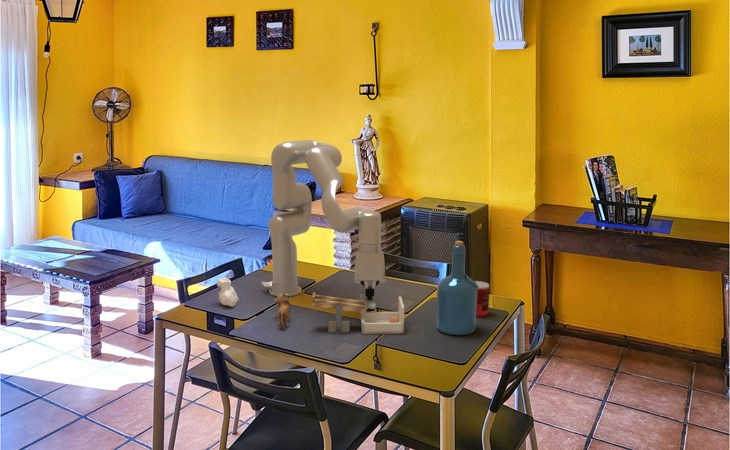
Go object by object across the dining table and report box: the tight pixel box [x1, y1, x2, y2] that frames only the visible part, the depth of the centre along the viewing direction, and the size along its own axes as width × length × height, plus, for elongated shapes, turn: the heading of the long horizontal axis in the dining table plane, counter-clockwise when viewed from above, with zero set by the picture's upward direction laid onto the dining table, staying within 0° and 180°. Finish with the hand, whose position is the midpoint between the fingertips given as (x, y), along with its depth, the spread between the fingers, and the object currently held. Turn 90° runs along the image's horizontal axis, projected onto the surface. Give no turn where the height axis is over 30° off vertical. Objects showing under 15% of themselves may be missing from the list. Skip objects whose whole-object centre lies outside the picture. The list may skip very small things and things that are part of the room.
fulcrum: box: [327, 304, 351, 334], centre depth 198 cm, size 7×9×9 cm
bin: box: [360, 296, 405, 335], centre depth 199 cm, size 14×11×9 cm
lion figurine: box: [273, 293, 291, 331], centre depth 202 cm, size 15×5×9 cm, turn 13°
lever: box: [310, 291, 377, 313], centre depth 203 cm, size 22×16×3 cm
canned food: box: [473, 280, 490, 318], centre depth 212 cm, size 8×8×11 cm
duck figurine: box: [216, 276, 239, 307], centre depth 221 cm, size 12×8×11 cm
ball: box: [389, 316, 399, 323], centre depth 199 cm, size 3×3×3 cm
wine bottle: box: [435, 240, 479, 336], centre depth 196 cm, size 14×13×30 cm
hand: (369, 298), depth 208 cm, fingers closed
